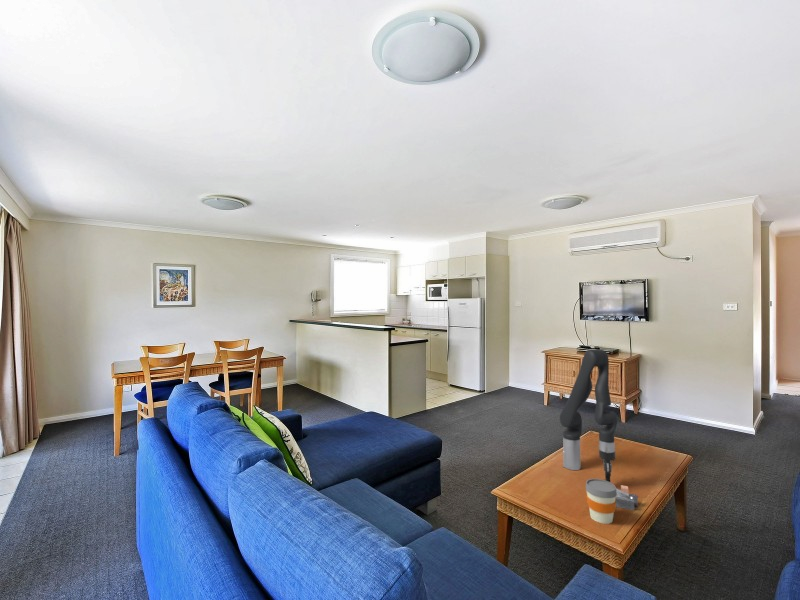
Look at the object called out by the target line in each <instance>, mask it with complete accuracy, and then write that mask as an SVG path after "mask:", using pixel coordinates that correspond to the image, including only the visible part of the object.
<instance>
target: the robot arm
mask: <svg viewBox="0 0 800 600" xmlns="http://www.w3.org/2000/svg"><path fill="white" fill-rule="evenodd" d="M609 362H610V361H609V355H608V353H607V352H606V351H605V350H604V349H588V350H586V351H585V353H584V355H583V358H582V361H581V365H580V367H579V371H578V374H577V376H576V380H575V381H574V384H573V385H572V386H573V387H572V389H571V392H570V394H569V396H568V399H567V401H566V404H565V405H564V407H563V409H562V410H561V412H560V415H559V422H560V424H561V425H562V427H564V428H566V429H565V430H564V431H563V433H562V446H563V447H562V448H563V449H562V459H563V460H562V463H563V464H562V465H563V466H562V467H563V468H565V469H567V470H571V471H579V470H581V468H582V467H581V464H582V463H581V435H582V432H583V431H582V430H583V429H582V427H583V420H582V416H581V413H580V412H579V411H578V410H579V409H580V407H582V406H583V405H584V404H585V403H586V402H587V400H588V399H589V397H590V395H591V393H592V390H593V382H592V378H591V377H592V376H591V375H592V372H593V370H594V368H595V367H597V369H598V370H597V371H598V372H597V373H598V374H597V379H596V383H595V385H594V396H595V410H594V421H595V422H596V424H597V425H599V426H605V427H602V428H599V430H598V457H599V458H600V460H602V465H603V471H604V475H605V479H604V480H605V481H608V482H610V483H611V477H612V475H611V474H612V466H613V465H612V461H615V460H616V445H615V431H616V428H617V425H618V419H619V418H618V416H617V414H616V412H615V411H612V410H605V408H607V407H610V406H611V405H612V400H611V393H610V386H609V385H610V384H609V374H610V373H609V371H610V370H609V368H610V367H609V365H610V364H609Z"/></svg>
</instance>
